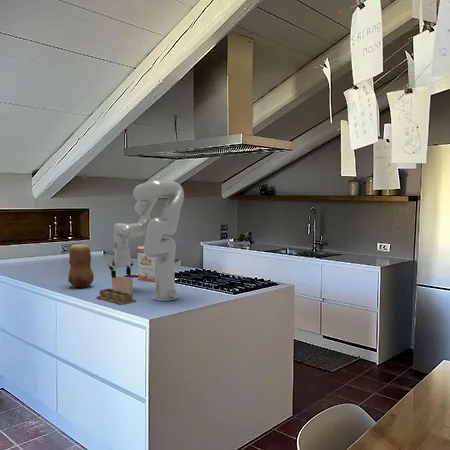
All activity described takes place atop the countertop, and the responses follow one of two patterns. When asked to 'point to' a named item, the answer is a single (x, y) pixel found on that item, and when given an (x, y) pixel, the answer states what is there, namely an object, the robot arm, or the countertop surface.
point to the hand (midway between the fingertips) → (121, 276)
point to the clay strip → (122, 284)
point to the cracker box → (146, 266)
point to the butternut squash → (80, 266)
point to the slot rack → (116, 296)
